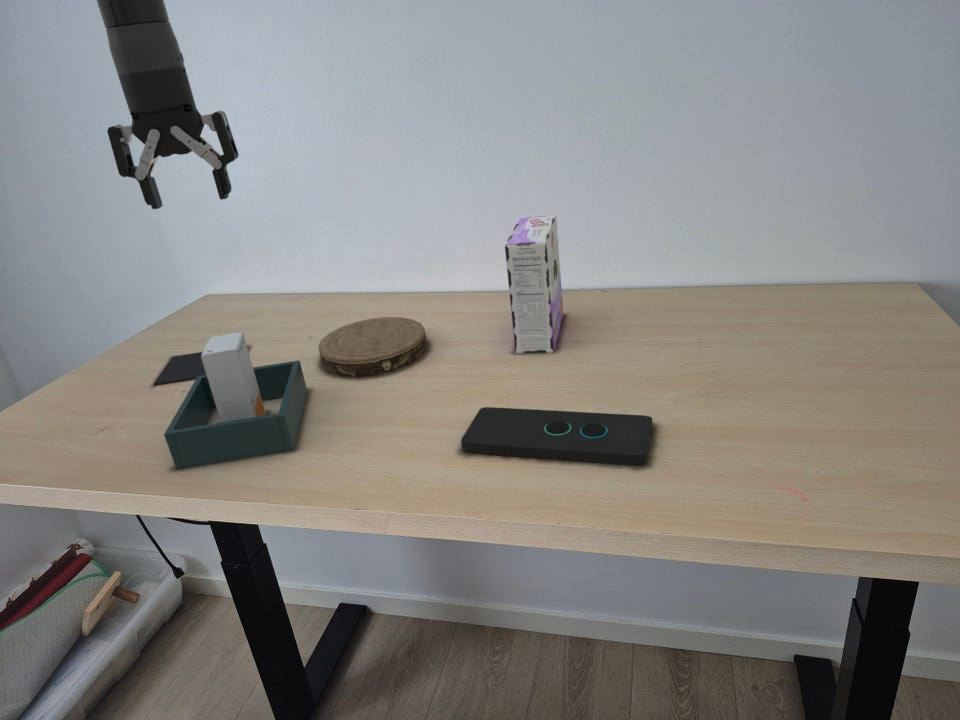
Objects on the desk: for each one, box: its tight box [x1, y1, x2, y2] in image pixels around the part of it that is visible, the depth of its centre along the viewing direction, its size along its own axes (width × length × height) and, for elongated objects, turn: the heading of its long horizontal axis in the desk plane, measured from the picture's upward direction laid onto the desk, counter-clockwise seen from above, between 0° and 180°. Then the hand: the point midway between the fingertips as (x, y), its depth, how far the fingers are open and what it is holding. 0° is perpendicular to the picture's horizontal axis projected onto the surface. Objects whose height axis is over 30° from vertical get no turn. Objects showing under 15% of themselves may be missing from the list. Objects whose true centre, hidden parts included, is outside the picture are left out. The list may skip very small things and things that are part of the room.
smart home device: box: [460, 406, 653, 467], centre depth 77 cm, size 8×2×20 cm
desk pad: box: [153, 351, 206, 386], centre depth 109 cm, size 12×10×1 cm
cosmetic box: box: [201, 331, 267, 423], centre depth 86 cm, size 6×4×12 cm
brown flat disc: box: [317, 316, 428, 379], centre depth 104 cm, size 16×16×3 cm
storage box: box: [163, 359, 308, 470], centre depth 87 cm, size 14×16×5 cm
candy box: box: [504, 215, 564, 354], centre depth 101 cm, size 14×6×16 cm, turn 168°
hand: (191, 203), depth 90 cm, fingers open, 8 cm apart
